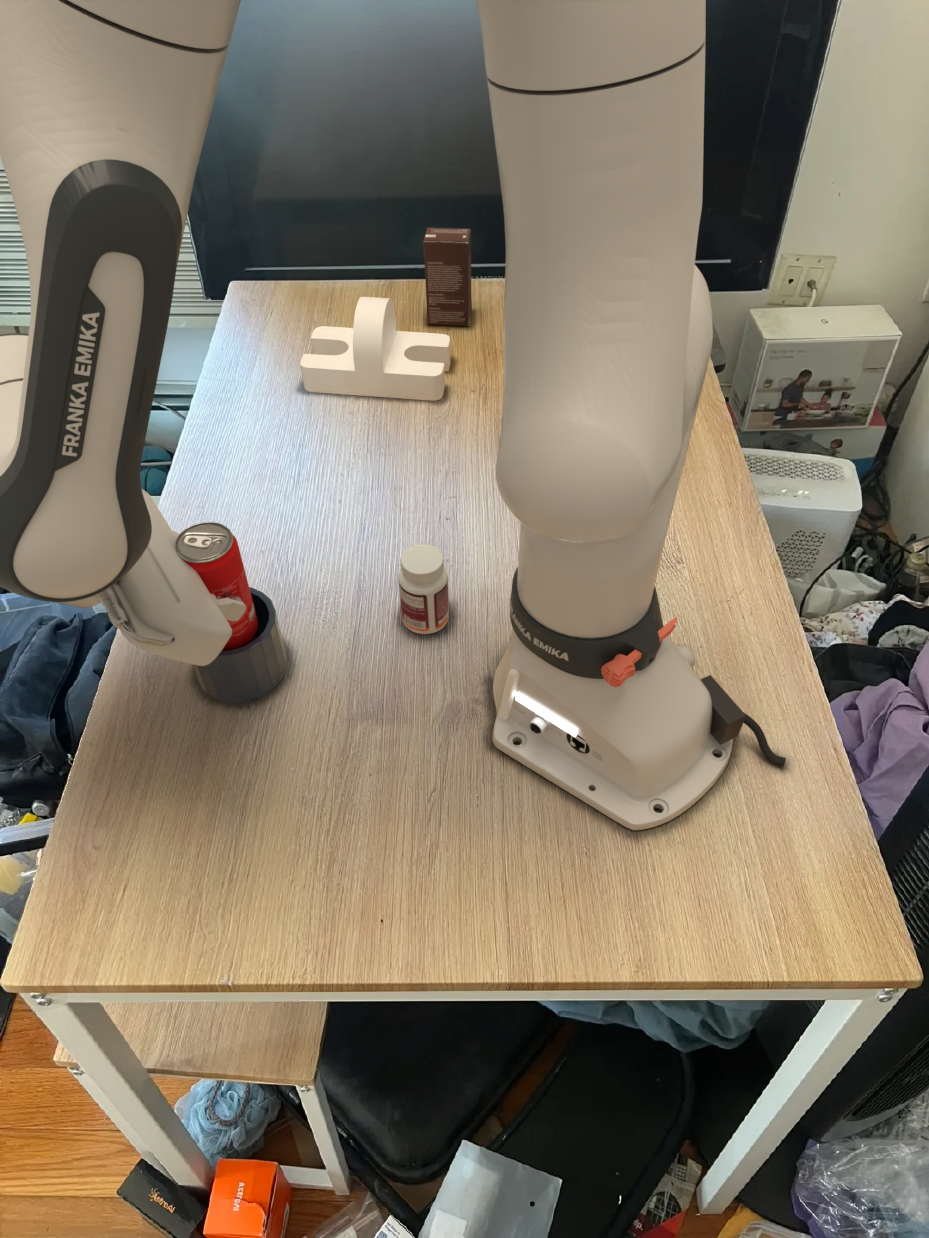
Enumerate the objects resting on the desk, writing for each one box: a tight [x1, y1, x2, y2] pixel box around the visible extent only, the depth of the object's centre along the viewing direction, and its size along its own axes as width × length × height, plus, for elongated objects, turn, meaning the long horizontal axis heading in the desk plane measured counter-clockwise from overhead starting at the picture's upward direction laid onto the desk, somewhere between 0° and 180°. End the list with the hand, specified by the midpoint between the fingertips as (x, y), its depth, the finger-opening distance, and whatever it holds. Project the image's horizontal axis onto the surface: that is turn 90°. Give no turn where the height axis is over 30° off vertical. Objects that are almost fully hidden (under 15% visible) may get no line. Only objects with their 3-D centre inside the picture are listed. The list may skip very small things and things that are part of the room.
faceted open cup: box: [192, 586, 288, 704], centre depth 84 cm, size 8×8×7 cm
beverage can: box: [175, 521, 258, 651], centre depth 79 cm, size 5×5×12 cm
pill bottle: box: [397, 543, 450, 635], centre depth 88 cm, size 5×5×8 cm
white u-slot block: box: [299, 296, 451, 402], centre depth 115 cm, size 10×18×10 cm, turn 83°
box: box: [422, 227, 473, 327], centre depth 123 cm, size 6×4×12 cm
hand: (224, 585), depth 79 cm, fingers closed on beverage can, 5 cm apart
